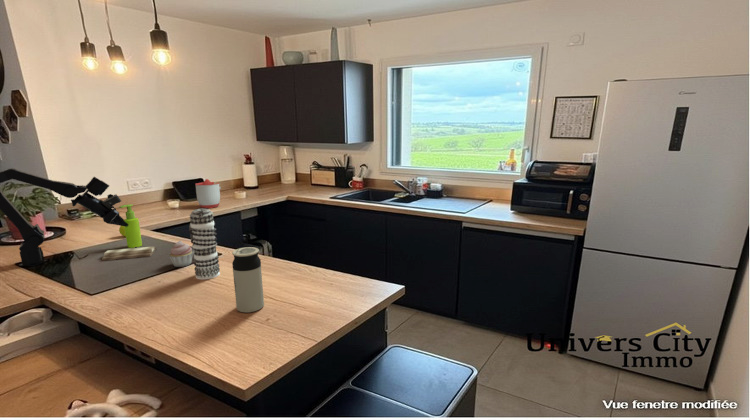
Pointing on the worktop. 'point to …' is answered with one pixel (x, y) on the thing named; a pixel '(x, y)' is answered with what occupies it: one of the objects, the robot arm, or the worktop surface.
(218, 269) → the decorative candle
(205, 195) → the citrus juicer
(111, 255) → the bar
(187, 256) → the cupcake
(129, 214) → the soap dispenser
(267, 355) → the worktop surface
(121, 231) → the ornament
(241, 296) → the travel mug
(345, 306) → the worktop surface
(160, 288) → the worktop surface
